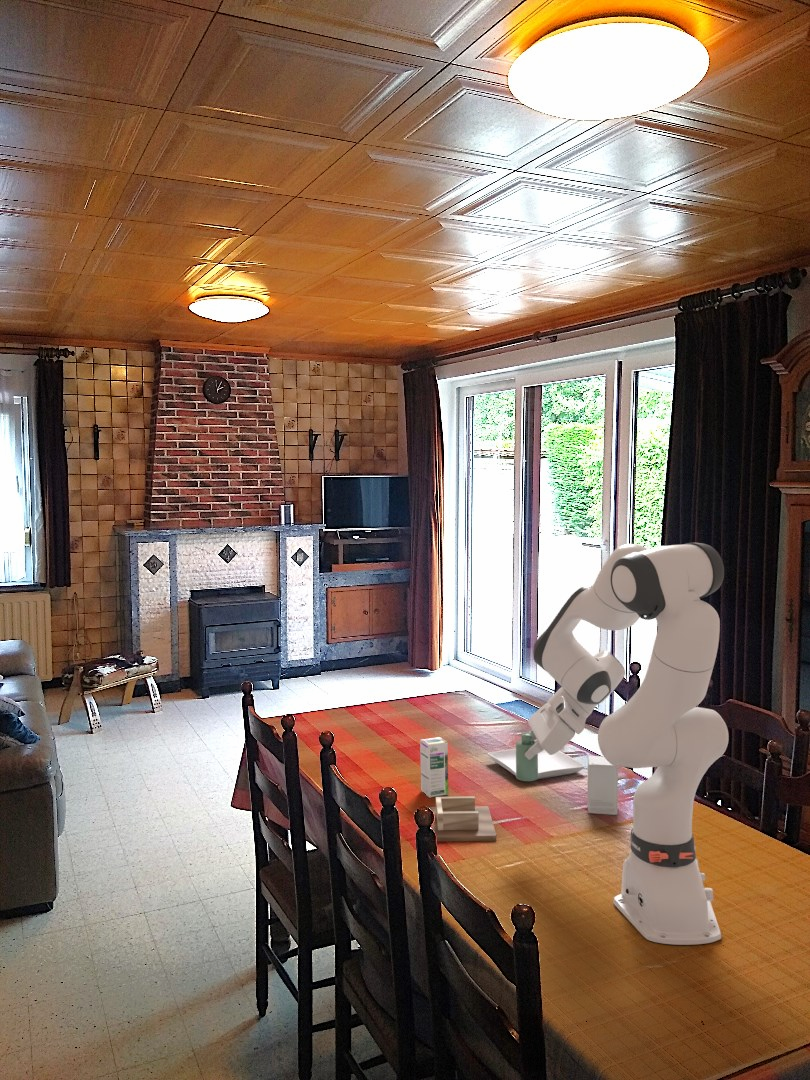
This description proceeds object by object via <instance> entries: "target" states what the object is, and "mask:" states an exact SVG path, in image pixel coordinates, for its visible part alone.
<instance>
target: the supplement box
mask: <svg viewBox="0 0 810 1080" xmlns="http://www.w3.org/2000/svg"><path fill="white" fill-rule="evenodd" d="M618 774H619V766H615V765H612V764H610V763H609V762H608V761H607V760H606V759H605V757H604V756H603V755H602V756H600V755H588V756H587V800H586V801H587V804H586V805H587V813H588V814H596V815H597V814H598V815H612V816H617V815H618V810H619V809H618V805H619V804H618V798H619V796H618V795H619V793H618V791H619V790H618V787H619V785H618V784H619V781H618V780H619V778H618V777H619V775H618Z"/></svg>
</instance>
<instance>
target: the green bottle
mask: <svg viewBox="0 0 810 1080" xmlns="http://www.w3.org/2000/svg"><path fill="white" fill-rule="evenodd" d="M535 742H536V741H535V740H534V741H532V734H529V733H528V732H526V733H522V734H521V740H517V741H516V742H515V749H516V776H515V778H516V780H519V781H523V782H533V781H537V780H539V779H538V754H536V755H535V756H534V757H533V758H532V759H530V760H529V759H528V758H527V757H525V755H524V752H525V751H526V750H527V749H528V748H530V747H532V746H533V745H534V743H535Z"/></svg>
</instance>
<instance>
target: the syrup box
mask: <svg viewBox="0 0 810 1080" xmlns="http://www.w3.org/2000/svg"><path fill="white" fill-rule="evenodd" d="M419 745H420V746H419V750H420V751H419V752H420V784H421V785H420V788H421V789H420V790H421V792H422V793H423V792H424V793H425V794H426V795H425V794H424V793H423V794H424V795H425V796H427V798H429V799H431V798H436V797H443V796H448V795H449V792H450V791H449V749H448V748H449V747H448V746H449V743H448V741H447V740H446V739H444V738H442V737H440V736H437V737H431V738H425V739H424V738H423V739H422V738H421V739H419Z"/></svg>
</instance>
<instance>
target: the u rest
mask: <svg viewBox="0 0 810 1080" xmlns="http://www.w3.org/2000/svg"><path fill="white" fill-rule="evenodd" d="M475 801H476V797H475V796H474V795H472V796H471V795H470V796H468V795H467V796H463V795H462V796H460V795H459V796H436V797H435V806H426V807H427V808H430V809H431V810H432V811H433V812H434V814H435V822H434V824H433V826H432V829H433V830H434V831H435V833H436V836H437V841H438V842H482V841H483V842H484V841H485V842H486V841H487V842H489V841H493V842H494V841H497V832H496V830H495V826H494V822H493V818H492V816H491V815H492V814H491V811H490V808H489V806H488V805H480V806H479V805H476V802H475Z"/></svg>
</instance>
